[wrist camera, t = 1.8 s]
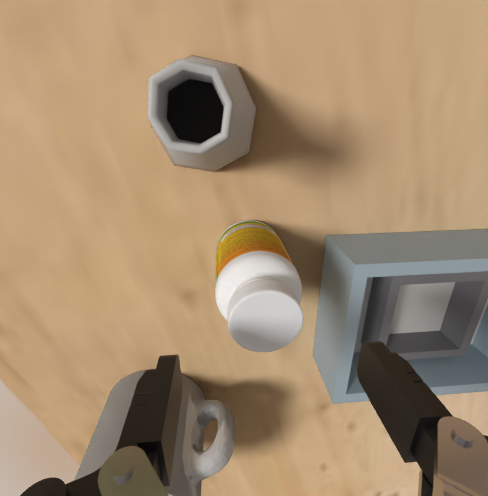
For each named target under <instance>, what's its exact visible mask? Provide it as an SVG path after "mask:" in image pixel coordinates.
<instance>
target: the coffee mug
mask: <svg viewBox="0 0 488 496" xmlns="http://www.w3.org/2000/svg"><path fill="white" fill-rule="evenodd" d="M152 370H156V369H152ZM145 371H146V370H144V371H139V372H136V373H133V374H131V375H128V376H127V377H125V378H123V379H122V380H120V381H119V382H118V383H117V384H116V385H115V386H114V387H113V389H112V390H111V392H110V395H109V397H108V399H107V402H106V404H105V407H104V409H103V412H102V414H101V416H100V419H99V421H98V424H97V426H96V429H95V431H94V433H93V436H92V438H91V441H90V443H89V446H88V448H87V450H86V453H85V455H84V458H83V460H82V463H81V465H80V467H79V470H78V473H77V475H76V477H75V480H77V479H79V478H82V477H84V476H86V475H89V474H91V473H93V472H94V471H96V470H98V469H99V468H100V467H102V466H103V464H104V462H105V461H106V460H107V459H108V458H109V457H110V456H111V455H112V454H113V453H114V451H115V450H116V447H117V445H118V442H119V439H120V435H121V432H122V429H123V426H124V423H125V420H126V417H127V413H128V410H129V407H130V406H131V401H132V398H133V396H134V391H135V388H136V385H137V382H138V380H139V379H140V378H141V376H142V375H143V374H144V373H145ZM181 378H182V398H181V406H180V413H179V421H178V428H177V436H176V443H175V450H174V458H173V465H172V473H171V480H170V486H167V487H164V488H165V490H166V492H167V494H168V495H169V496H201V481H202V480H203V479H206V478H208V477H210V476H212V475H214V474H216V473H217V472H219V471H220V470H221V469H223V468H224V467H225V465H226V464H227V463H228V461H229V460H230V458H231V456H232V453H233V449H234V444H235V423H234V419H233V416H232V414H231V412H230V410H229V408H228V407H227V406H226V405H225V404H224V403H223V402H221V401H219V400H205V397H204V395H203V392H202V391H201V389H200V388H199V386H198V385H197V384H196V383H195V382H193V381H192V380H191V379H190V378H188V377H186V376H184V375H182V374H181ZM213 419H217V420H218V431H217V434H216V438H215V440H214V442H213V443H212V445H211V446H209V447H208V448H207V449H206V450H205V451H203V442H204V428H205V426H206V425H207V424H208V423H209V422H210V421H211V420H213ZM75 480H74V481H75Z"/></svg>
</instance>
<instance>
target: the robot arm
mask: <svg viewBox="0 0 488 496" xmlns="http://www.w3.org/2000/svg"><path fill="white" fill-rule="evenodd" d="M357 375H358V379H359V382H360V384H361V386H362V388H363V389H364V391H365V393H366V395H367V396H368V398H369V400H370V402H371V404H372V405H373V407H374V409H375V411H376V412H377V414H378V416H379V418H380V419H381V421H382V423H383V425H384V427H385V428H386V430H387V432H388V434H389V435H390V437H391V439H392V441H393V443H394V444H395V446H396V448H397V450H398V451H399V453H400V455H401V457H402V459H403V460H404V462H405V463H407V462H417V463H418V465H419V466H420V468H421V470H420V473H419V489H418V496H488V436H485V435H482V433H481V432H480V431H479V430H478V429H476V428H475V427H474V426H472V425H471V424H470V423H468V422H466V421H464V420H462V419H459V418H456V417H453V416H452V415H451V414H450V412H449V411H448V410H447V409H446V407H445V406H444V405H443V404H442V403H441V401H440V400H439V399H438V398H437V397H436V395H435V394H434V393H433V392H432V390H431V389H430V388H429V387H428V386H427V384H426V383H425V382H423V380H422V378H421V377H420V376H419V375H418V374H416V371H415V370H414V369H413V367H412V366H411V365H410V364H409V362H408V361H406V360H405V359H404V358H402V357H401V356H400V355H398V354H397V353H391V352H390V351H389V349H388V348H387V347H386V345H385V344H384V343H383V342H381V341H374V342H363V343H362V345H361V350H360V355H359V361H358V366H357ZM181 398H182V378H181V370H180V362H179V356H178V355H166V356H160V357H159V360H158V364H157V368H156V370H146V371H145V373H144V374H143V375H142V376H141V378H140V379H139V380H138V382H137V385H136V388H135V391H134V396H133V398H132V401H131V406H130V407H129V410H128V413H127V417H126V420H125V423H124V426H123V429H122V432H121V435H120V439H119V442H118V445H117V447H116V450H115V451H114V453H113V454H112V455H111V456H110V457H109V458H108V459H107V460H106V461H105V462H104V464H103V466H102V467H100V468H99V469H98V470H96V471H94V472H93V473H91V474H89V475H86V476H84V477H82V478H79V479H77V480H75V481H72V482H70V483H68V484H65V483H64V482H63V481H62V480H61V479H59V478H47V479H43V480H41V481H39V482H37V483H35V484H34V485H32V486H31V487H29V488H28V489H27V490H26V491H24V492H23V493H22V494H21V495H20V496H169V495H168V494H167V492H166V490H165V488H164V487H167V486H170V480H171V473H172V465H173V458H174V450H175V443H176V436H177V428H178V421H179V413H180V406H181Z"/></svg>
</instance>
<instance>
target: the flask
mask: <svg viewBox="0 0 488 496" xmlns="http://www.w3.org/2000/svg"><path fill="white" fill-rule="evenodd" d="M255 115H256V107H255V104H254V102H253V100H252V97H251V95H250V93H249V91H248V88H247V86H246V84H245V82H244V79H243V77H242V75H241V73H240V70H239V68H238V66H237V65H236V64H231V63H227V62H222V61H217V60H213V59H208V58H204V57H199V56H194V55H191V56H190V57H188V58H186V59H181V58H180V59H179V60H177V61H175V62H174V63H172V64H170V65H169V66H167V67H165V68H164V69H162V70H161V71H159V72H157V73H156V74H154V75H152V76H151V77H149V93H148V118H149V120H150V122H151V123H152V124H151V127H152V128H153V130H154V132H155V133H156V135H157V137H158V138H159V140H160V142H161V143H162V145H163V147H164V148H165V150H166V152H167V153H168V155H169V157H170V158H171V160H172V162H173V163H174V165H176V166H182V167H188V168H194V169H201V170H207V171H213V172H215V171H217V170H219V169H220V168H222V167H224V166H226V165H228V164H229V163H231V162H233V161H235V160H237V159H239V158H240V157H242V156H244V155H246V154H248V153H249V151H250V145H251V139H252V133H253V127H254V121H255Z"/></svg>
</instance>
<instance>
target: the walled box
mask: <svg viewBox="0 0 488 496" xmlns="http://www.w3.org/2000/svg"><path fill="white" fill-rule="evenodd" d="M374 341H381V342H383V343H384V344H385V345H386V347H387V348H388V349H389V351H390V352H391V353H397V354H398V355H400V356H401V357H402V358H404V359H405V360H406V361H408V362H409V364H410V365H411V366H412V367H413V369H414V370H415V371H416V374H418V375H419V376H420V377H421V378H422V380H423V382H425V383H426V384H427V386H428V387H429V388H430V389H431V390H432V392H433V393H434V394H435V395H446V394H458V393H470V392H482V391H488V229H473V230H448V231H423V232H398V233H373V234H348V235H326V240H325V249H324V258H323V267H322V276H321V286H320V295H319V304H318V313H317V322H316V331H315V340H314V349H313V357H314V359H315V362H316V364H317V367H318V369H319V371H320V374H321V376H322V379H323V381H324V384H325V386H326V388H327V391H328V393H329V396H330V398H331V401H332V403H333V404H336V403H349V402H361V401H370V400H369V398H368V396H367V395H366V393H365V391H364V389H363V388H362V386H361V384H360V382H359V379H358V375H357V366H358V361H359V355H360V350H361V345H362V343H363V342H374Z"/></svg>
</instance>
